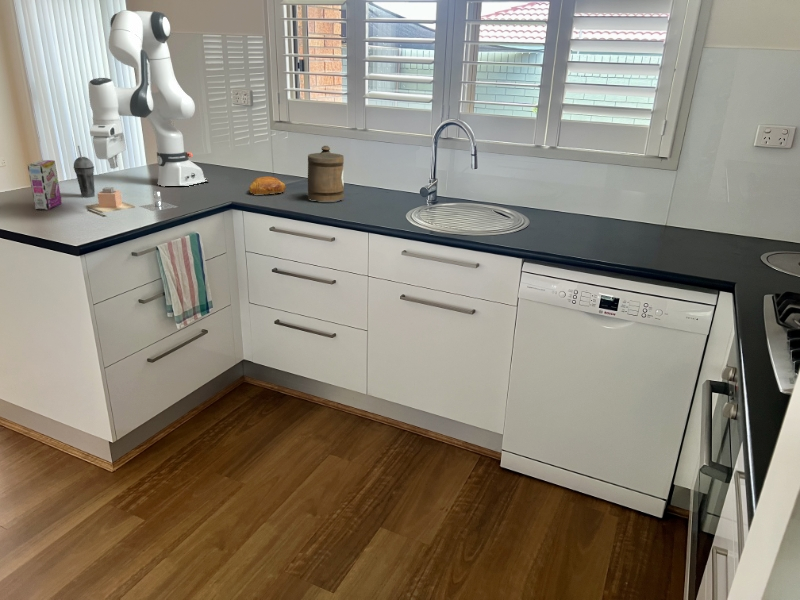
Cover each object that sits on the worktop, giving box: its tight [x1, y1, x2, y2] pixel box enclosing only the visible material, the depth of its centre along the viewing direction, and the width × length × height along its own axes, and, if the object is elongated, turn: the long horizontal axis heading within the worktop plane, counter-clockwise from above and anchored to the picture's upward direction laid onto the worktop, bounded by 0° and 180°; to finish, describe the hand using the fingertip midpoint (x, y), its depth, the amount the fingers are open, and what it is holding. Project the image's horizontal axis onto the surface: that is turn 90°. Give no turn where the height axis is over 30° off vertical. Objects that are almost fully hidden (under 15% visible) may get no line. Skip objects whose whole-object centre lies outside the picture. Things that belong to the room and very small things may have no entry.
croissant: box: [248, 176, 286, 195], centre depth 257 cm, size 14×16×8 cm
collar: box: [96, 190, 123, 208], centre depth 217 cm, size 6×6×5 cm
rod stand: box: [138, 190, 178, 212], centre depth 221 cm, size 10×10×7 cm
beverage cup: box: [73, 145, 96, 199], centre depth 235 cm, size 7×7×20 cm
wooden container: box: [307, 145, 345, 201], centre depth 246 cm, size 15×15×22 cm
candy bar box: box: [27, 159, 63, 211], centre depth 218 cm, size 11×5×16 cm, turn 5°
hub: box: [86, 186, 136, 218], centre depth 217 cm, size 12×12×8 cm
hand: (114, 167), depth 213 cm, fingers closed
